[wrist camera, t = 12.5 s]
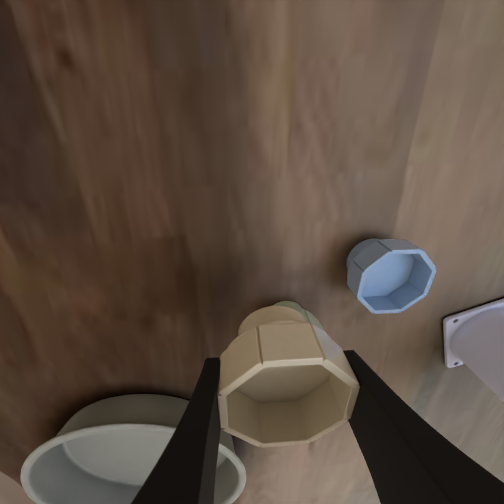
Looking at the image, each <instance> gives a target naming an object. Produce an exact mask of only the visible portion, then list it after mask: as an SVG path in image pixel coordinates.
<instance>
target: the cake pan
mask: <svg viewBox="0 0 504 504" xmlns="http://www.w3.org/2000/svg"><path fill="white" fill-rule="evenodd" d="M188 403H189V401H188V400H185V399H181V398H177V397H172V396H166V395H157V394H130V395H122V396H116V397H111V398H107V399H103V400H100V401H97V402H95V403H93V404H90V405H88V406H86V407H84V408H83V409H81V410H80V411H78V412H77V413H76V414H74V415H73V416H72V417H71V418H70V420H69V421H68V422H67V423H66V424H65V426H64V427H63V428H62V429H61V430H60V432H59V433H58V434H57V435H56V436H55V437H54V438H52V439H50V440H48V441H46V442H45V443H43V444H42V445H40V446H39V447H38V448H37V449H35V450H34V451H33V452H32V453H31V454H30V455H29V456H28V457H27V459H26V461H25V462H24V464H23V467H22V469H21V483H22V486H23V488H24V490H25V492H26V493H27V495H28V496H29V497H30V498H31V499H32V500H33V501H34V502H35V503H37V504H131V503H132V501H133V499H134V498H135V496H136V495H137V493H138V492H139V490H140V489H141V487H142V486H143V484H144V482H145V481H146V479H147V478H148V476H149V474H150V473H151V471H152V470H153V468H154V466H155V465H156V463H157V461H158V460H159V458H160V456H161V455H162V453H163V451H164V449H165V448H166V446H167V444H168V442H169V441H170V439H171V437H172V435H173V433H174V431H175V429H176V427H177V425H178V423H179V422H180V420H181V418H182V416H183V414H184V412H185V410H186V407H187V405H188ZM245 483H246V471H245V468H244V465H243V463H242V462H241V460H240V459H239V457H238V456H237V455H236V454H235V451H234V446H233V441H232V436H231V434H229V433H227V432H225V431H223V430H222V428H221V432H220V441H219V450H218V458H217V467H216V477H215V489H214V504H231V503H233V502H234V501H235V500H236V499H237V498H238V497H239V495H240V494H241V493H242V491H243V489H244V486H245Z"/></svg>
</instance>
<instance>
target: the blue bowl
mask: <svg viewBox="0 0 504 504" xmlns="http://www.w3.org/2000/svg"><path fill="white" fill-rule="evenodd" d="M347 269H348V274H347V286H348V287H349V289H350V290H351V291H352V293H353V294H354V295H355V297H356V298H357V299H358V300H359V301H360V302H361V303H362V304H363V305H364V306H365V307H366V308H367V309H368V310H369V311H370V312H371V313H373V314H383V313H400V311H401V312H403V311H404V310H406V309H407V308H409V307H410V306H411V305H413V304H414V303H416V302H417V301H419V300H420V299H422V298H423V297H425V296H426V295H425V294H428V291H429V289H430V286H431V283H432V281H433V278H434V276H435V273H436V271H437V270H436V267H435V265H434V264H433V263H432V261H431V260H430V259H429V257H428V256H427V254H426V253H425V252H424V250H422V249H421V248H419V247H417V246H416V245H414V244H412V243H410V242H409V241H407V240H398V239H383V240H381V239H367V240H364V241H362V242H360V243H359V244H357V245H356V246H355V247H354V248H353V249H352V250H351V251H350V253H349V255H348V258H347Z"/></svg>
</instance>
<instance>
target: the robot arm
mask: <svg viewBox="0 0 504 504" xmlns="http://www.w3.org/2000/svg"><path fill="white" fill-rule="evenodd" d="M443 332H444V355H445V365H446V366H447V367H448V368H452V367H455V366H458V365H462V364H465V365H466V366H467V367H468V368H469V369H470V370H471V371H472V372H473V373H474V374H475V375H476V376H477V377H478V378H479V379H480V380H481V381H482V382H483V383H484V384H485V385H486V386H487V387H488V388H490V389H491V390H492V391H493V392H494V393H495V394H496V395H497V396H498V397H499V398H500V399H501V400H502V401H503V402H504V299H501V300H498V301H494V302H491V303H488V304H485V305H482V306H479V307H476V308H473V309H470V310H467V311H464V312H461V313H458V314H455V315H452V316H449V317H446V318H445V319H444V320H443ZM343 352H344V354H345V356H346V358H347V360H348V362H349V364H350V366H351V368H352V370H353V372H354V374H355V376H356V378H357V380H358V382H359V385H360V389H359V393H358V396H357V399H356V403H355V406H354V409H353V412H352V416H351V419H348V421H349V423H350V426H351V428H352V430H353V433H354V435H355V437H356V440H357V442H358V444H359V447H360V449H361V451H362V454H363V456H364V458H365V461H366V463H367V466H368V468H369V471H370V473H371V476H372V479H373V482H374V485H375V488H376V491H377V494H378V496H379V499H380V502H381V504H504V483H503V482H502V481H500V480H499V479H498V478H496V477H495V476H493V475H492V474H491V473H489V472H488V471H487V470H485V469H484V468H483V467H481V466H480V465H479V464H477V463H476V462H475V461H473V460H472V459H471V458H469V457H468V456H467V455H466V454H464V453H463V452H462V451H460V450H459V449H458V448H457V447H455V446H454V445H453V444H452V443H450V442H449V441H448V440H447V439H446V438H444V437H443V436H442V435H441V434H440V433H438V432H437V431H436V430H435V429H434V428H432V427H431V426H430V425H429V424H428V423H427V422H426V421H424V420H423V419H422V418H421V417H420V416H419V415H418V414H417V413H416V412H415V411H413V410H412V409H411V408H410V407H409V406H408V405H407V404H406V403H405V402H404V401H403V400H402V399H401V398H400V397H399V396H398V395H397V394H396V393H395V392H394V391H393V390H392V389H391V388H390V387H389V386H388V385H386V384H385V382H384V381H383V380H382V379H381V378H380V377H379V376H378V375H377V374H376V373H375V372H374V371H373V370H372V369H371V368H370V367H369V366H368V365H367V364H366V363H365V362H364V361H363V360H362V359H361V358H360V356H359V355H358V354H357V353H356V352H355V351H354V350H347V351H343ZM220 362H221V360H220V357H218V358H207V359H206V360H205V363H204V366H203V369H202V372H201V375H200V377H199V380H198V382H197V385H196V387H195V390H194V392H193V394H192V396H191V399H190V401H189V403H188V405H187V407H186V410H185V412H184V414H183V416H182V418H181V420H180V422H179V423H178V425H177V427H176V429H175V431H174V433H173V435H172V437H171V439H170V441H169V442H168V444H167V446H166V448H165V449H164V451H163V453H162V455H161V456H160V458H159V460H158V461H157V463H156V465H155V466H154V468H153V470H152V471H151V473H150V474H149V476H148V478H147V479H146V481H145V482H144V484H143V486H142V487H141V489H140V490H139V492H138V493H137V495H136V496H135V498H134V499H133V501H132V503H131V504H214V489H215V477H216V467H217V458H218V450H219V441H220V432H221V428H220V420H219V410H218V401H217V390H218V383H219V377H220Z"/></svg>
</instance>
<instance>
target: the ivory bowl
mask: <svg viewBox="0 0 504 504" xmlns="http://www.w3.org/2000/svg"><path fill="white" fill-rule="evenodd" d="M220 360H221V362H220V377H219V383H218V390H217V401H218V410H219V420H220V428H222V430H223V431H225V432H227V433H229V434H231V435H234V436H236V437H238V438H240V439H242V440H244V441H246V442H248V443H251V444H253V445H255V446H257V447H259V446H261V447H272V446H285V445H298V444H307V443H308V442H310V443H311V442H313V441H315V440H316V439H318V438H320V437H322V436H323V435H325V434H327V433H329V432H330V431H332V430H334V429H336V428H337V427H339V426H341V425H343V424H344V423H346V422H348V419H351V416H352V412H353V409H354V406H355V403H356V399H357V396H358V393H359V389H360V385H359V382H358V380H357V378H356V376H355V374H354V372H353V370H352V368H351V366H350V364H349V362H348V360H347V358H346V356H345V354H344V352H343V350H342V348H341V347H340V346H338V345H337V344H336V343H335V342H334V341H333V340H332V339H331V337H330V336H329V335H328V334H327V333H326V332H324V331H323V330H321V329H320V328H318V327H316V326H314V325H313V324H309V323H308V321H307V319H306V318H305V317H304V316H303V315H302V314H301V313H300V312H298V311H297V310H295V309H292V308H290V307H286V306H269V307H264V308H261V309H259V310H256V311H254V312H253V313H251V314H250V315H249V316H247V317H246V318H245V319H244V321H243V322H242V324H241V325H240V327H239V330H238V337H237V338H236V339H235V340H234V341H232V343H231V344H230V345H229V346H228V348H227V349H226V350H225V351H224V352H223V353H222V354H221V356H220Z"/></svg>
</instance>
